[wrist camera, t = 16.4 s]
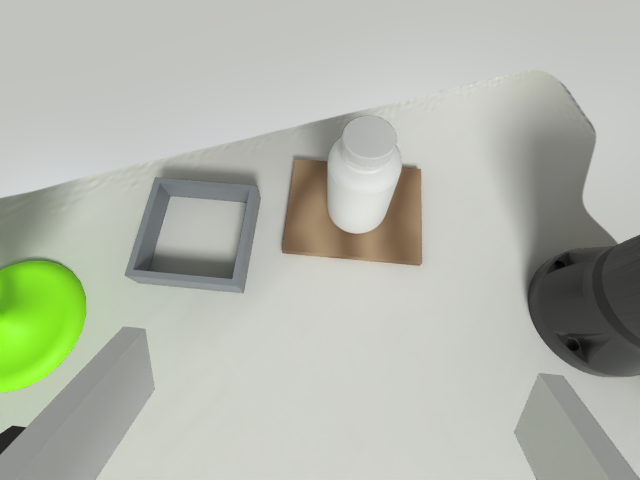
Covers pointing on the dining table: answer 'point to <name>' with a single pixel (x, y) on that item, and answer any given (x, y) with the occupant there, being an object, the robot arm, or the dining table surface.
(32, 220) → the dining table surface
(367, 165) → the pill bottle
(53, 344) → the wineglass
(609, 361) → the robot arm
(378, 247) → the board
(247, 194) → the bin
